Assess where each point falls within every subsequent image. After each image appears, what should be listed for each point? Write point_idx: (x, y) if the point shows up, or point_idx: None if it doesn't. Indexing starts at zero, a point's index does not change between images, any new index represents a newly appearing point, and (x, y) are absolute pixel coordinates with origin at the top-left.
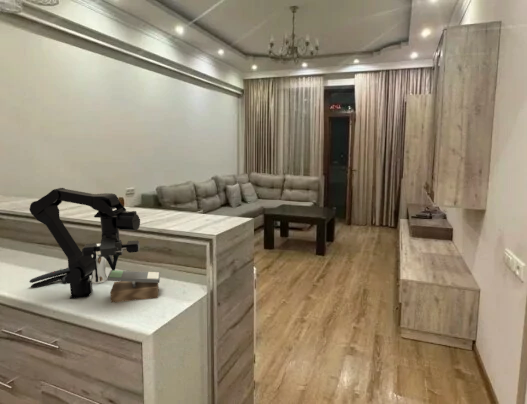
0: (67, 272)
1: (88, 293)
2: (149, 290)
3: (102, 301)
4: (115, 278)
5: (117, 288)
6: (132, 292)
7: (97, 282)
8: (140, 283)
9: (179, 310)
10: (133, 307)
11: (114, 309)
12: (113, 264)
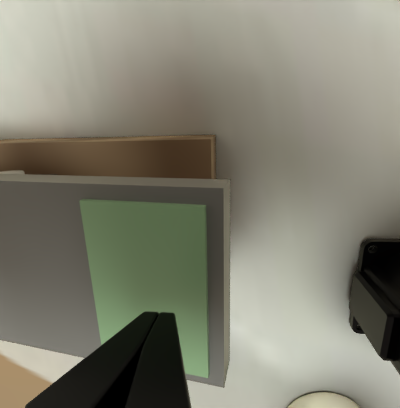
0: None
1: (370, 267)
2: None
3: (271, 163)
4: (136, 182)
5: None
6: (64, 141)
7: (330, 397)
8: None
9: None
10: (67, 33)
11: (178, 28)
12: (108, 379)
